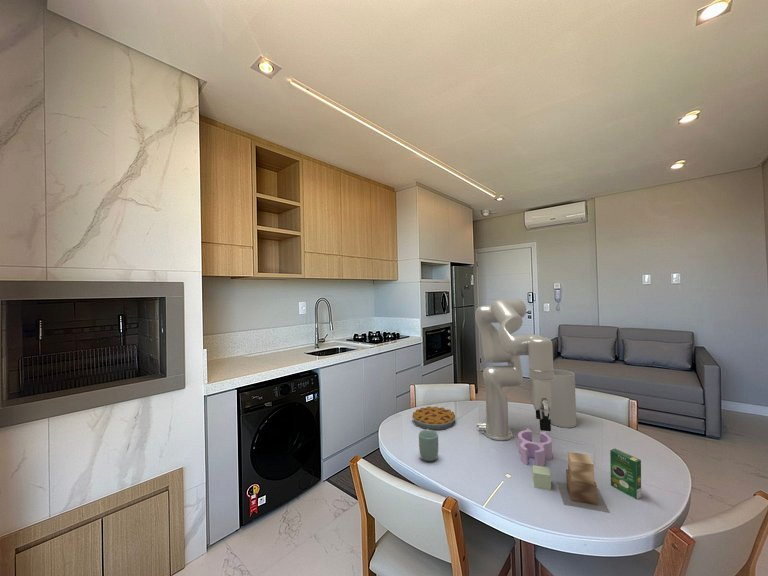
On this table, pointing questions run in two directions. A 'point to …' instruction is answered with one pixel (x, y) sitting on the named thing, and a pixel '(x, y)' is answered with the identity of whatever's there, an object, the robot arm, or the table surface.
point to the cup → (428, 445)
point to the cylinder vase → (563, 399)
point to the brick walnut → (581, 491)
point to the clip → (534, 447)
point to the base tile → (567, 501)
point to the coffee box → (625, 473)
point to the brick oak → (580, 468)
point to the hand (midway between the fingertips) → (543, 424)
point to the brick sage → (541, 477)
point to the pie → (433, 418)
